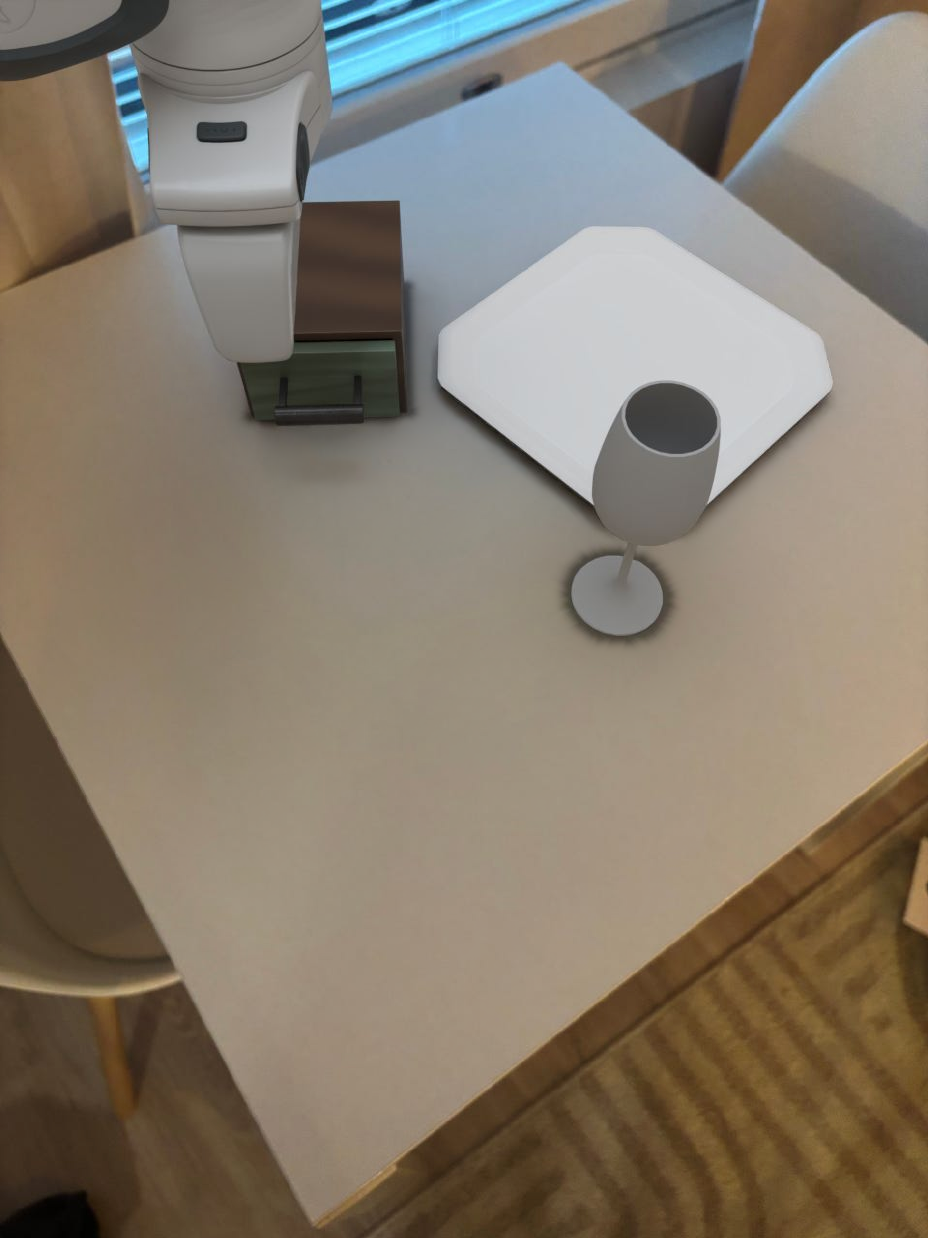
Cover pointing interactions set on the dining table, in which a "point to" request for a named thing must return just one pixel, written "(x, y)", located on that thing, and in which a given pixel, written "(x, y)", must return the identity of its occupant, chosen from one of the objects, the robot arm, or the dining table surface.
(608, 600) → the wineglass
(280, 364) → the drawer
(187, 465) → the dining table surface
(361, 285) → the cabinet
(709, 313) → the plate
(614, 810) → the dining table surface
